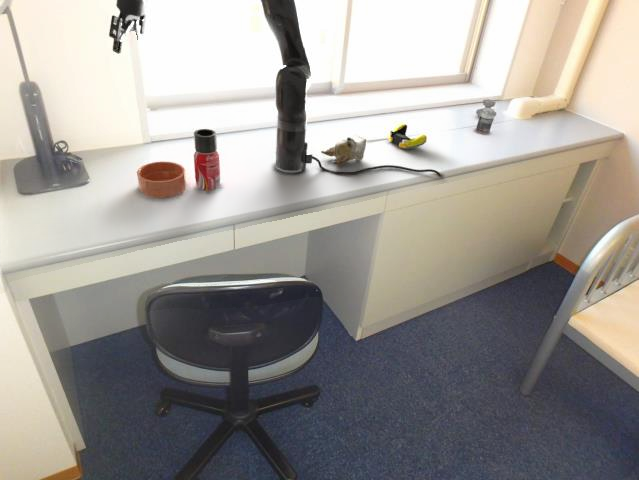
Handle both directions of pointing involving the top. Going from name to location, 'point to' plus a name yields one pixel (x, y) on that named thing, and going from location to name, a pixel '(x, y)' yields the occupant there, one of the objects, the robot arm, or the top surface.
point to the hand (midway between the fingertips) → (124, 49)
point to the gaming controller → (405, 138)
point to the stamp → (487, 104)
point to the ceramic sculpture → (347, 150)
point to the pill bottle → (485, 121)
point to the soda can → (207, 170)
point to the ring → (205, 141)
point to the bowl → (161, 179)
